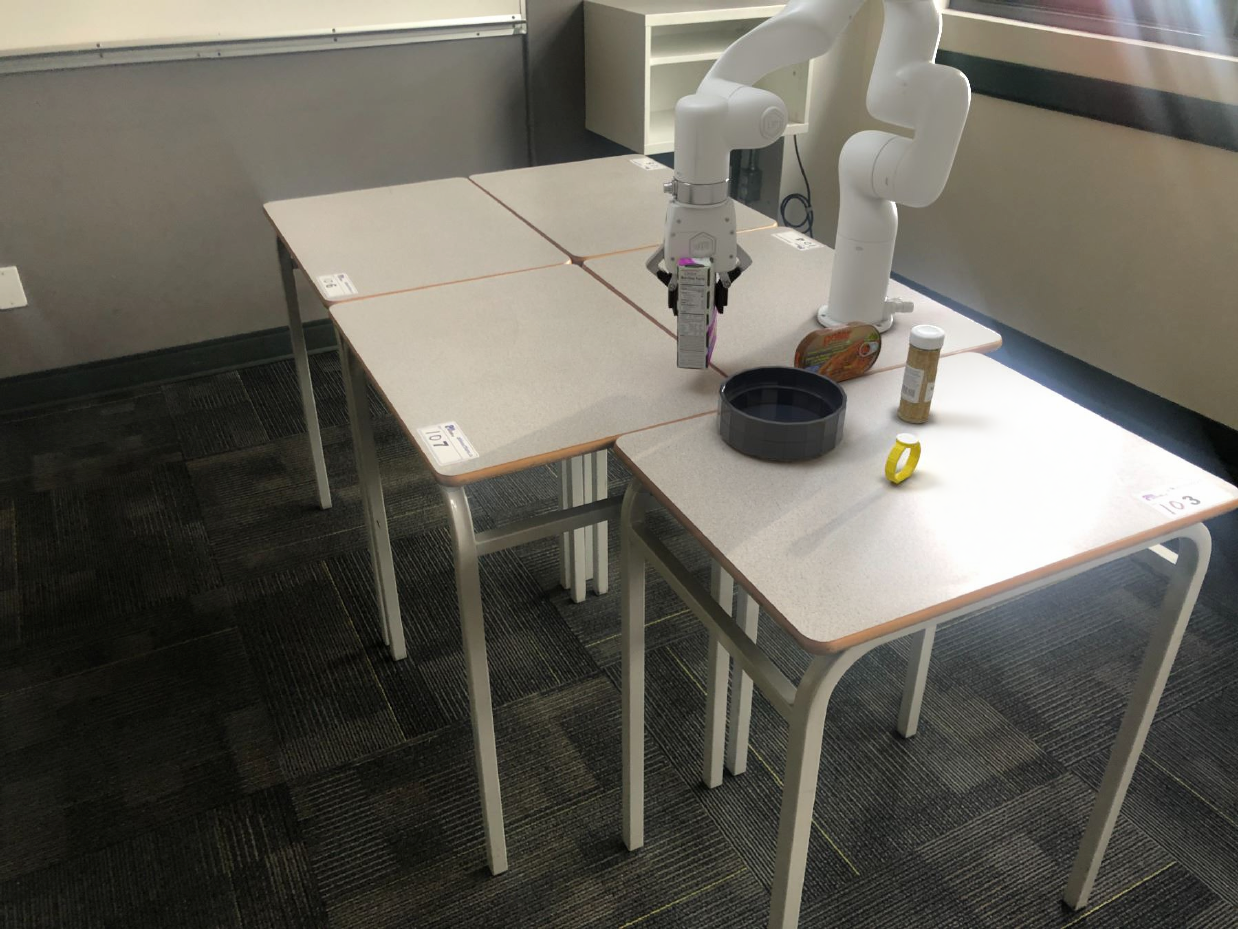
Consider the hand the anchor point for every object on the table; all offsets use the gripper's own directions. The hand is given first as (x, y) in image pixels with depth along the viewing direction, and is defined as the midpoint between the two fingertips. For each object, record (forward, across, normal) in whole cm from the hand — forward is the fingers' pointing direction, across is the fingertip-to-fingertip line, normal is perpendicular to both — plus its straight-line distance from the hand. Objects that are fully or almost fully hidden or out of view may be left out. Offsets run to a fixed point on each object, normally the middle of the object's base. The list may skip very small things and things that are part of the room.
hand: (697, 310), depth 146 cm
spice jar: (+12, +29, -14) cm, 35 cm away
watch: (+11, +22, -30) cm, 39 cm away
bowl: (+11, +9, -18) cm, 23 cm away
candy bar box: (+7, 0, 0) cm, 7 cm away
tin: (+12, +21, -2) cm, 24 cm away
